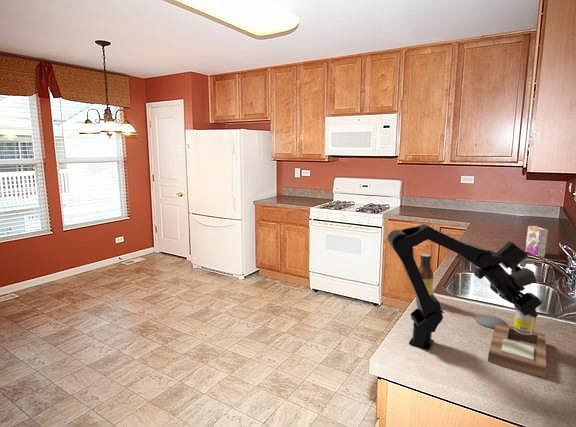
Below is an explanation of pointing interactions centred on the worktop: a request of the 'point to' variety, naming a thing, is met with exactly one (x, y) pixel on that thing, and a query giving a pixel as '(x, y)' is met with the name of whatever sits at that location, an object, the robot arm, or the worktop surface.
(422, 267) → the sauce bottle
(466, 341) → the worktop surface
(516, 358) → the puzzle board
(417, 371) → the worktop surface
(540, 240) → the candy bar box
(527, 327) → the supplement bottle
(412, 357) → the worktop surface
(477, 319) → the rubber mat
